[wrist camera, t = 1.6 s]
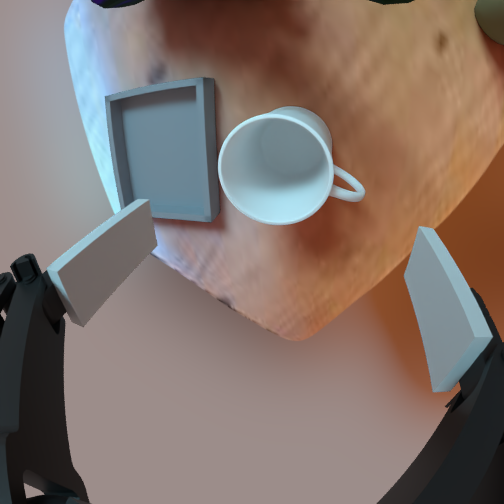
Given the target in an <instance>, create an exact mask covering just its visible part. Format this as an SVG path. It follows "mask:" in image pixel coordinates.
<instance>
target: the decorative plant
mask: <svg viewBox="0 0 504 504" xmlns="http://www.w3.org/2000/svg"><path fill="white" fill-rule="evenodd" d="M91 1H92V2H93V3H95V4H97V5H99V6H101V7H103V8H119V7H126V6H131V5H135V4H137V3H139V2H142V1H144V0H91ZM369 1H373V2H376V3H380V4H383V5H386V4H399V3H409V2H412V1H414V0H369Z"/></svg>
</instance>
